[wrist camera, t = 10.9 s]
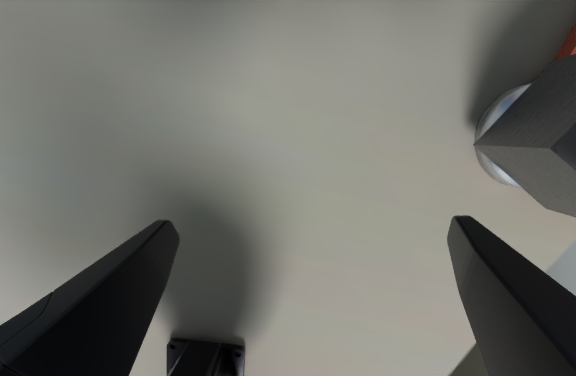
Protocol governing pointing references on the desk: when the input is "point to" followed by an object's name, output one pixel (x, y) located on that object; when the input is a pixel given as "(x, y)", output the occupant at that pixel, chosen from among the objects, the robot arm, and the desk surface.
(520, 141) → the grey cylinder on block
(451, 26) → the desk surface
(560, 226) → the desk surface
